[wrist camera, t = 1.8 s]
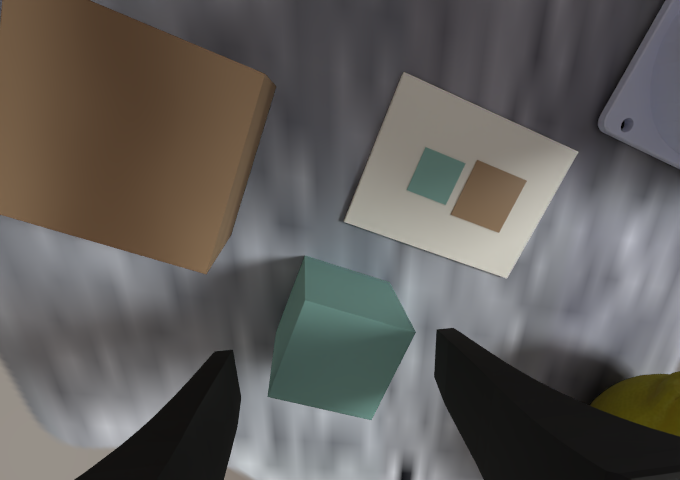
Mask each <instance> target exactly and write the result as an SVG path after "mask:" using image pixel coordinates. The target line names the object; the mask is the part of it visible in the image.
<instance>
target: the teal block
mask: <svg viewBox="0 0 680 480" xmlns="http://www.w3.org/2000/svg"><path fill="white" fill-rule="evenodd" d="M415 333H416V332H415V330H414V328H413V326H412V324H411V322H410V320H409V319H408V317H407V315H406V313H405V311H404V309H403V307H402V305H401V303H400V301H399V300H398V298H397V296H396V294H395V292H394V290H393V288H392V286H391V284H390V283H389V282H387V281H383V280H380V279H377V278H374V277H371V276H368V275H365V274H361V273H358V272H355V271H352V270H349V269H346V268H343V267H339V266H336V265H333V264H330V263H327V262H324V261H320V260H317V259H314V258H311V257H308V256H304V259H303V262H302V264H301V267H300V270H299V272H298V275H297V278H296V280H295V283H294V286H293V288H292V291H291V294H290V296H289V299H288V302H287V304H286V307H285V310H284V312H283V315H282V318H281V320H280V323H279V326H278V328H277V331H276V336H275V344H274V351H273V359H272V367H271V374H270V382H269V390H268V397H271V398H275V399H280V400H284V401H289V402H293V403H298V404H302V405H306V406H311V407H315V408H320V409H324V410H329V411H333V412H337V413H342V414H346V415H351V416H355V417H360V418H364V419H369V420H372V418H373V416H374V414H375V412H376V410H377V408H378V406H379V404H380V402H381V400H382V398H383V396H384V394H385V392H386V390H387V388H388V386H389V384H390V382H391V380H392V378H393V376H394V374H395V372H396V370H397V368H398V366H399V364H400V362H401V360H402V358H403V356H404V354H405V352H406V351H407V349H408V347H409V345H410V343H411V341H412V339H413V337H414V335H415Z"/></svg>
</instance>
